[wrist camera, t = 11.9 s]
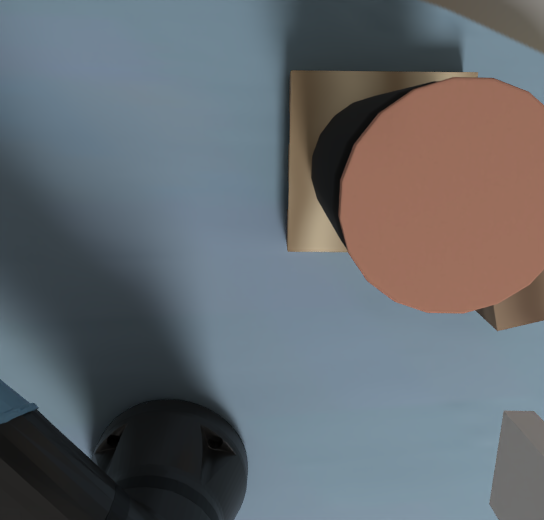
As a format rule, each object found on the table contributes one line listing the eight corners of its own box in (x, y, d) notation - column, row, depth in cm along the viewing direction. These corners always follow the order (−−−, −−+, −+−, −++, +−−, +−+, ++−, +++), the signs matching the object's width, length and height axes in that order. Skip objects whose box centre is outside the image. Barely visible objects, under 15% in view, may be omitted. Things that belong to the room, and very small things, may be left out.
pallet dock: (286, 243, 44) (287, 251, 42) (289, 74, 41) (291, 70, 38) (445, 244, 44) (457, 253, 42) (463, 75, 41) (478, 72, 38)
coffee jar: (370, 259, 42) (440, 358, 24) (281, 165, 40) (288, 199, 22) (473, 169, 40) (629, 206, 22) (385, 64, 38) (481, 16, 20)
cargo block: (473, 309, 46) (497, 331, 41) (465, 257, 45) (489, 274, 40) (528, 296, 46) (558, 316, 41) (521, 244, 45) (552, 259, 40)
